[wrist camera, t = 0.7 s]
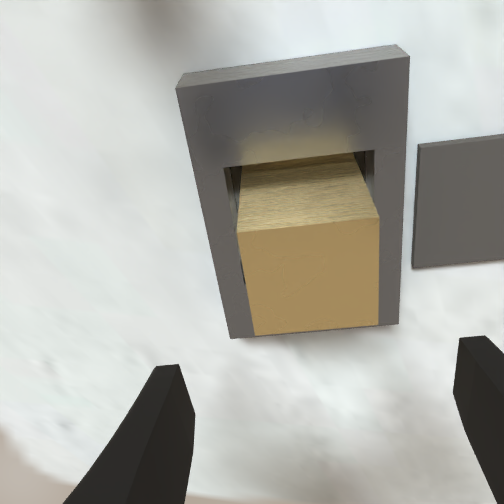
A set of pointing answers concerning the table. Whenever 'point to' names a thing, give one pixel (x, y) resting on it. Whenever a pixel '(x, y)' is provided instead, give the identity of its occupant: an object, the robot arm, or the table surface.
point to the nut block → (309, 245)
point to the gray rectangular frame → (298, 148)
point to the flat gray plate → (459, 202)
